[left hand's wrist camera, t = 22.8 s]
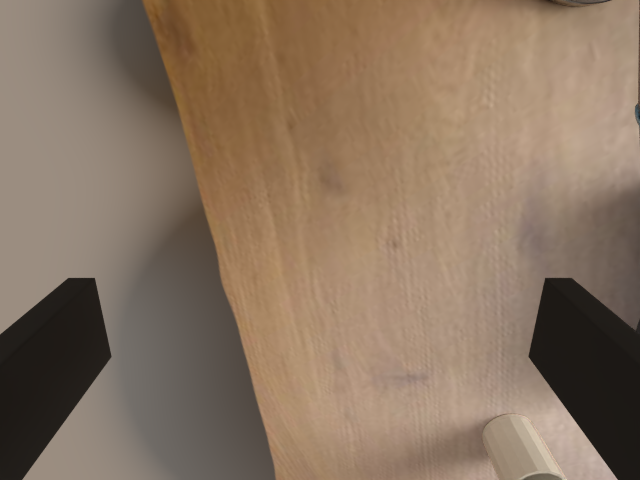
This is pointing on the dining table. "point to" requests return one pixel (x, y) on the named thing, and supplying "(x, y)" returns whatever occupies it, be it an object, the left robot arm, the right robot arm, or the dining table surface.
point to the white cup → (519, 450)
